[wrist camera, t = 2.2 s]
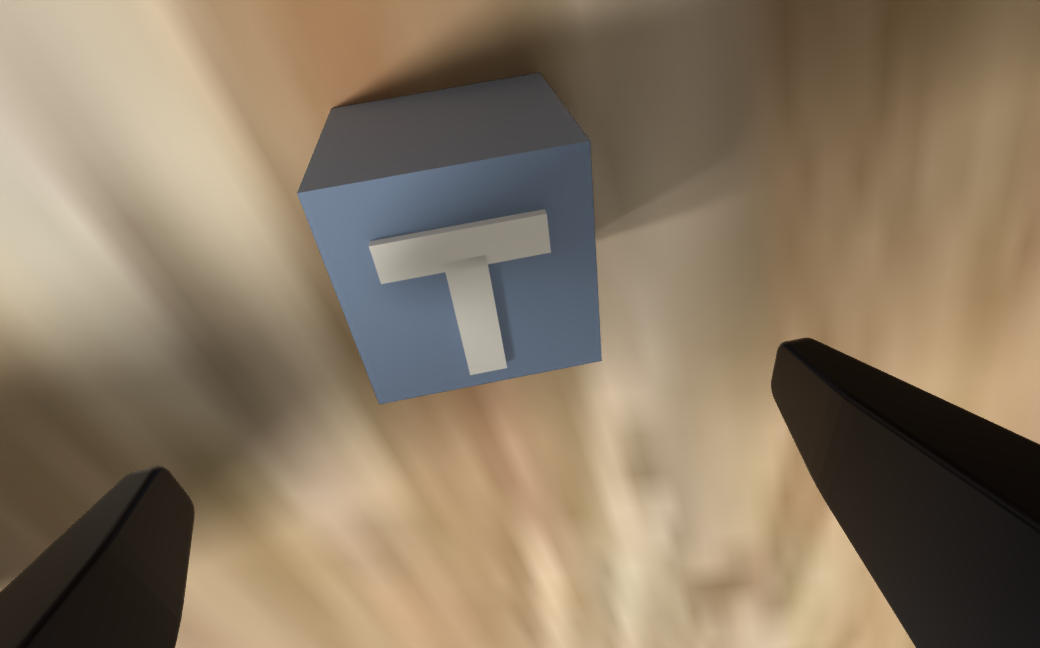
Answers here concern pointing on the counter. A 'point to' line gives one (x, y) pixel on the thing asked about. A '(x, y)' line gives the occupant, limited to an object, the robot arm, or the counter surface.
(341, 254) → the letter cube
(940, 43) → the counter surface
